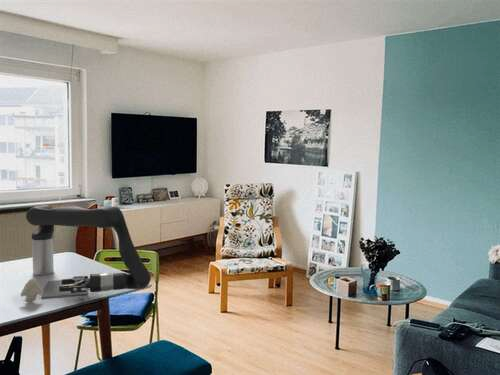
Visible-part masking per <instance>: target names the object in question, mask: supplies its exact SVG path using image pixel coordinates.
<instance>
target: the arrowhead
mask: <svg viewBox="0 0 500 375" xmlns="http://www.w3.org/2000/svg"><path fill="white" fill-rule="evenodd" d="M42 294H43V290H42V289H41V287H40V286H39V284H38V283H37V282H36V281H35V280H34V279H33V278H31V279H29V280H28V281H27V283H25V284H24V287H23V288H22V291H21V292H20V297H21V298H22V297H23V296H25V299H24V301H25V302H26V303H33V302H35V301H36V300H37V296H38V295H40V296H42Z"/></svg>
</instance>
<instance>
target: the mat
mask: <svg viewBox="0 0 500 375" xmlns="http://www.w3.org/2000/svg"><path fill="white" fill-rule="evenodd" d="M88 279H90V277H88ZM61 281H62V279H61V280H60V279H59V280H58V279H57V280H47V282H46V285H45V287H44V289H43V290H42V295H40V299H41V300H44V299H56V298H58V299H59V298H68V297H79V296H81V297H82V296H88V292H89V288H88V289H87V291H86V292H79V293H71V292H70V291H64V292H60V291H59V287H60V286H66V285H62V282H61ZM69 285H73V284H69Z"/></svg>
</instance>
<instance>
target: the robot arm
mask: <svg viewBox="0 0 500 375" xmlns="http://www.w3.org/2000/svg"><path fill="white" fill-rule="evenodd" d="M25 219H26V221H27V222H28V223H29V224H30V225H32V226H36V227H37V226H38V228H37V229H36V230H34V231H33V232H32V233H31V252H32V275H34V276H46V275H50V274H53V273H54V272H55V271H54V242H53V239H54V238H53V235H54V232H55V226H61V227H85V226H86V227H94V228H95V227H96V228H99V229H110V228H113V230H114V231H115V234H116V235H117V239H118V252H119V256H120V257H121V260H122V261H123V263H124V266H125V267H126V269H127V270H128V271H129V273H126V272H115V273H114V272H113V273H112V272H104V273H102V272H101V273H91V274H89V275H80V276H79V275H77V276H74V275H73V277H71V278H64V279H61V280H62V281H61V282H62V285H66V286H60V287H59V291H60V292H64V291H70V292H71V293H79V292H86V291H87V289H88V290H89V292H90V293H102V292H109V291H110V292H111V291H118V290H120V291H121V290H125V289H126V290H143V289H145V288H147V287H148V286H149V285H150V283H151V274H150V272H149V270H148V269H147V267H146V265H145V264H144V263H143V261H142V258H141V257H140V255H139V253H138V251H137V249H136V246H135V245H134V243H133V240H132V238H131V234H130V232H129V229H128V228H129V227H128V226H127V223H126V220H125V216H124V214H123V212H122V210H121V209H120V208H119V207H117V206H105V207H99V208H93V209H90V208H89V209H88V208H84V207H81V206H70V205H69V206H60V207H56V208H55V207H54V208H52V206H50V205H49V204H43V205H35V206H33V207H30V208H29V209H28V210H27V211H26V213H25ZM88 278H89V279H88ZM69 284H73V285H69Z"/></svg>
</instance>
